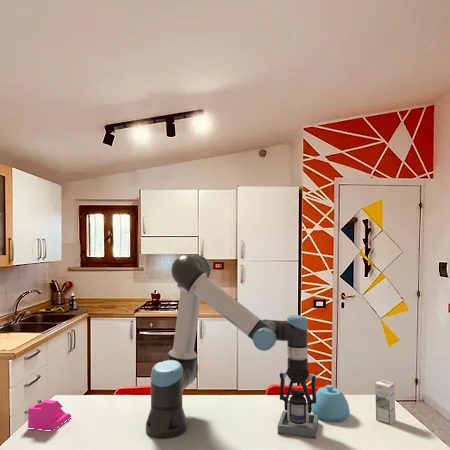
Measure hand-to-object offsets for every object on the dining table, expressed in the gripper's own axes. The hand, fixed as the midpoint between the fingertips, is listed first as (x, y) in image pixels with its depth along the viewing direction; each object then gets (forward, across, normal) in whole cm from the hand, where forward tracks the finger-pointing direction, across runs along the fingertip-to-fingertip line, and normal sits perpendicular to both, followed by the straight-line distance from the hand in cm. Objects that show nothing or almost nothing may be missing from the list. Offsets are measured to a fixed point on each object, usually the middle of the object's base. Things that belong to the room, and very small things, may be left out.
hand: (298, 420), depth 148 cm
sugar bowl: (+3, +11, +16) cm, 19 cm away
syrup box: (+3, +32, +16) cm, 36 cm away
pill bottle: (+1, 0, 0) cm, 1 cm away
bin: (+3, 0, 0) cm, 3 cm away
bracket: (+3, -92, -23) cm, 94 cm away
